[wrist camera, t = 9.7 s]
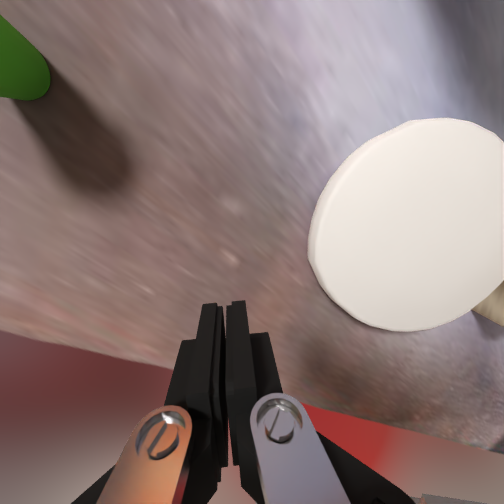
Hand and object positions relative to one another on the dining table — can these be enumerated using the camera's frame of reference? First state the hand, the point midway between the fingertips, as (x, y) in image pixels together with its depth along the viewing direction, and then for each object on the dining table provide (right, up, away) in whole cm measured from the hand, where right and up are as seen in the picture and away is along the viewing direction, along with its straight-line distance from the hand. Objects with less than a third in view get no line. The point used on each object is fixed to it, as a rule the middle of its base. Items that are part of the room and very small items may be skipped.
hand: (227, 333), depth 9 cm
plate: (+22, +6, +24) cm, 33 cm away
